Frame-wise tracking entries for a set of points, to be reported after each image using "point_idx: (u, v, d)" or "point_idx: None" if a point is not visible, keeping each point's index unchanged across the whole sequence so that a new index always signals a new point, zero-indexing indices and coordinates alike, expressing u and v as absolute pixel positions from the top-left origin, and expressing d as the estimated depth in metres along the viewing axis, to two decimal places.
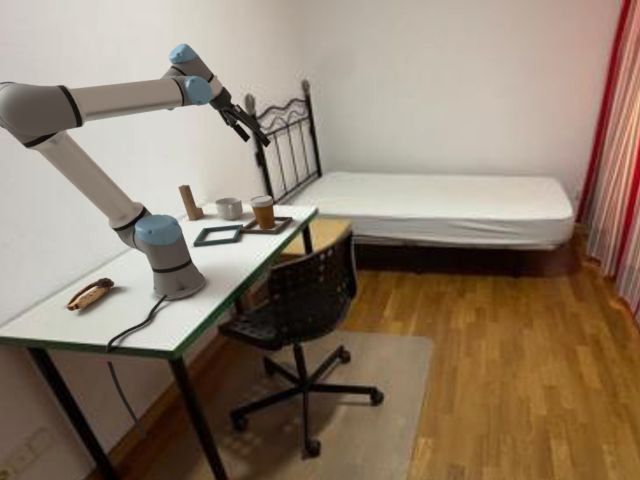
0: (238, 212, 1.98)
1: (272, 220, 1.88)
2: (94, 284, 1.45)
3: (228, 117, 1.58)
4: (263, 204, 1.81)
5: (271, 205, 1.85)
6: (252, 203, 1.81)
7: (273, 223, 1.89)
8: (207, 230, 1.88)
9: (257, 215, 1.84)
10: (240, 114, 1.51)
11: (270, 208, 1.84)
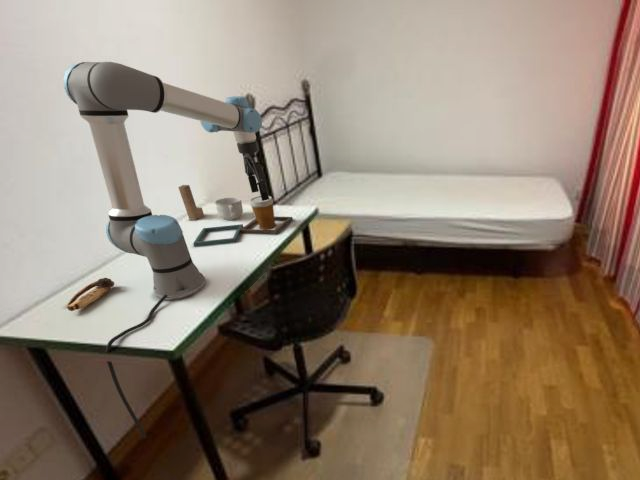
0: (238, 212, 1.98)
1: (272, 220, 1.88)
2: (94, 284, 1.45)
3: (247, 165, 1.79)
4: (263, 204, 1.81)
5: (271, 205, 1.85)
6: (252, 203, 1.81)
7: (273, 223, 1.89)
8: (207, 230, 1.88)
9: (257, 215, 1.84)
10: (255, 164, 1.71)
11: (270, 208, 1.84)
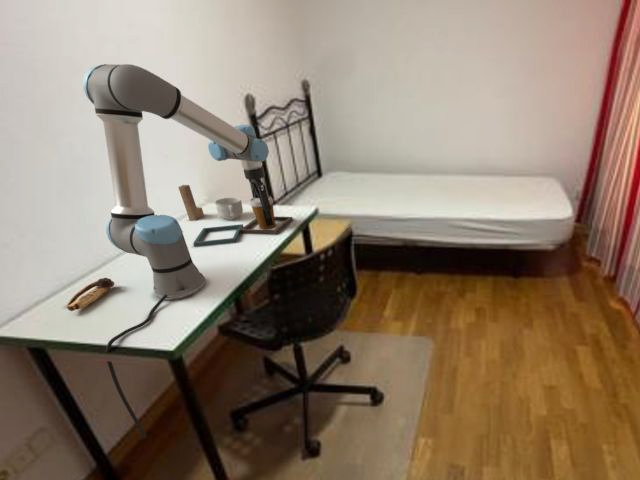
0: (238, 212, 1.98)
1: (272, 220, 1.88)
2: (94, 284, 1.45)
3: (254, 191, 1.84)
4: None
5: (271, 205, 1.85)
6: (252, 203, 1.81)
7: (273, 223, 1.89)
8: (207, 230, 1.88)
9: (257, 215, 1.84)
10: (261, 192, 1.77)
11: None
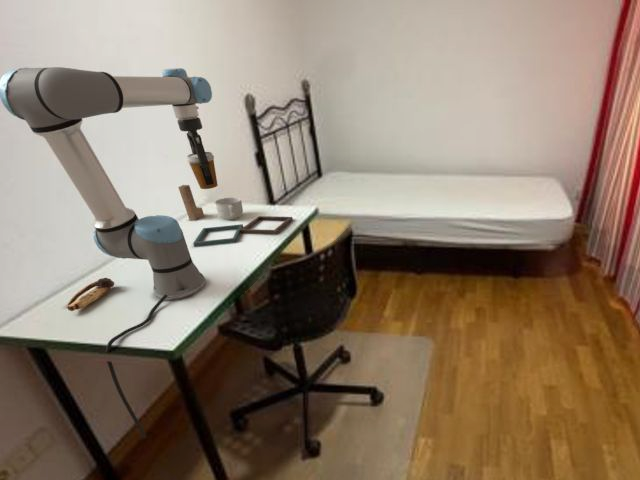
0: (238, 212, 1.98)
1: (213, 179, 1.70)
2: (94, 284, 1.45)
3: None
4: None
5: (211, 162, 1.67)
6: (189, 158, 1.64)
7: (215, 182, 1.72)
8: (207, 230, 1.88)
9: (195, 172, 1.67)
10: (197, 145, 1.59)
11: (210, 165, 1.67)
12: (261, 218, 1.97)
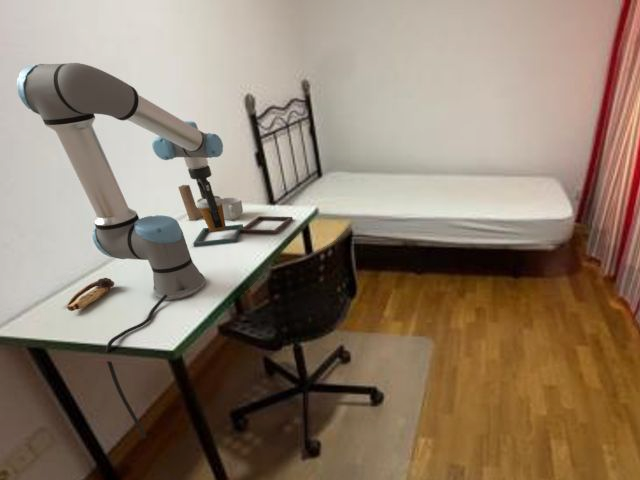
0: (238, 212, 1.98)
1: (222, 222, 1.79)
2: (94, 284, 1.45)
3: (202, 191, 1.75)
4: None
5: (220, 206, 1.76)
6: (199, 204, 1.73)
7: (223, 225, 1.80)
8: (207, 230, 1.88)
9: (205, 216, 1.75)
10: (207, 192, 1.68)
11: None
12: (261, 218, 1.97)
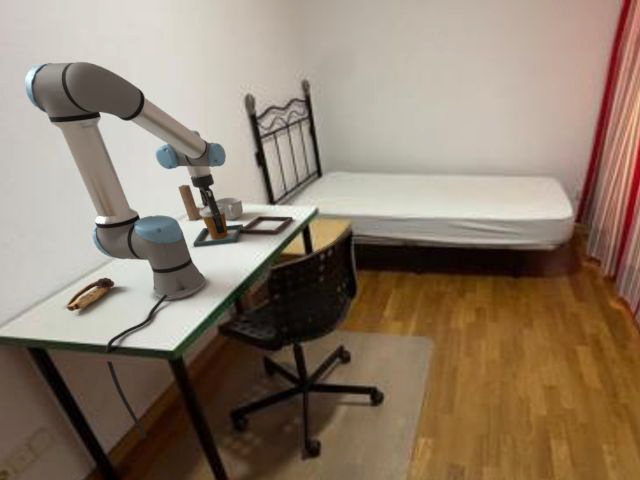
0: (238, 212, 1.98)
1: None
2: (94, 284, 1.45)
3: (203, 198, 1.77)
4: None
5: (222, 215, 1.78)
6: (201, 213, 1.74)
7: (225, 233, 1.82)
8: (207, 230, 1.88)
9: (207, 225, 1.77)
10: (209, 198, 1.69)
11: (221, 218, 1.77)
12: (261, 218, 1.97)
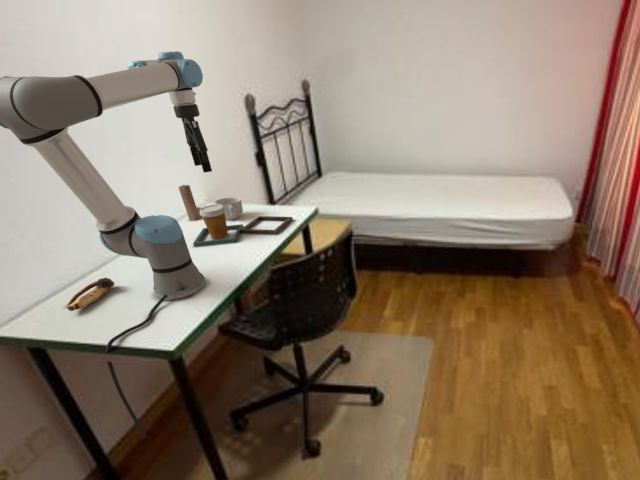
0: (238, 212, 1.98)
1: (224, 230, 1.81)
2: (94, 284, 1.45)
3: (188, 133, 1.59)
4: (213, 214, 1.74)
5: (222, 215, 1.78)
6: (201, 213, 1.74)
7: (225, 233, 1.82)
8: (207, 230, 1.88)
9: (207, 225, 1.77)
10: (194, 130, 1.51)
11: (221, 218, 1.77)
12: (261, 218, 1.97)
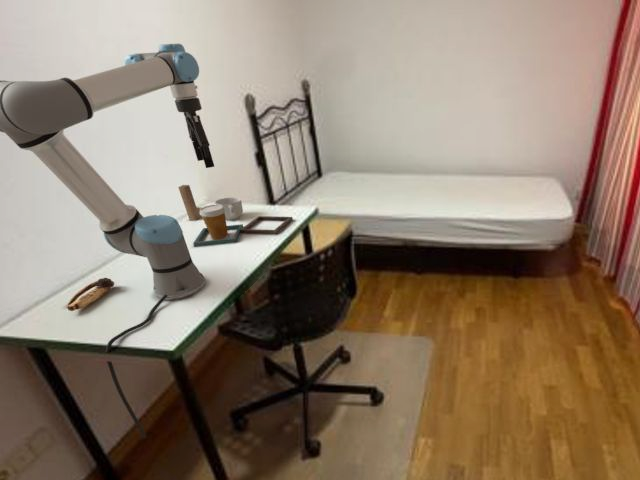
0: (238, 212, 1.98)
1: (224, 230, 1.81)
2: (94, 284, 1.45)
3: (190, 127, 1.56)
4: (213, 214, 1.74)
5: (222, 215, 1.78)
6: (201, 213, 1.74)
7: (225, 233, 1.82)
8: (207, 230, 1.88)
9: (207, 225, 1.77)
10: (195, 124, 1.48)
11: (221, 218, 1.77)
12: (261, 218, 1.97)
